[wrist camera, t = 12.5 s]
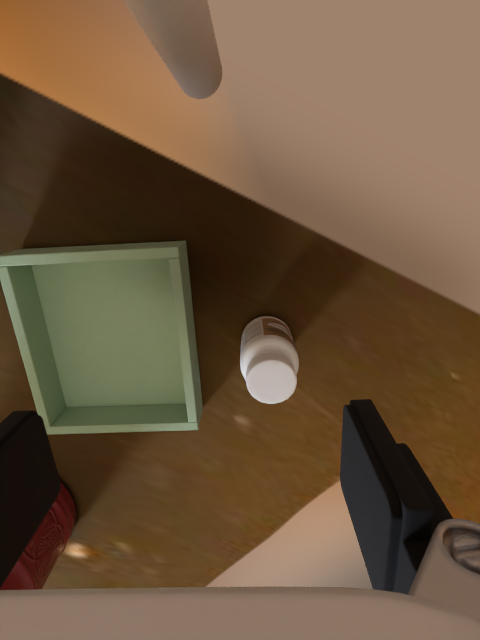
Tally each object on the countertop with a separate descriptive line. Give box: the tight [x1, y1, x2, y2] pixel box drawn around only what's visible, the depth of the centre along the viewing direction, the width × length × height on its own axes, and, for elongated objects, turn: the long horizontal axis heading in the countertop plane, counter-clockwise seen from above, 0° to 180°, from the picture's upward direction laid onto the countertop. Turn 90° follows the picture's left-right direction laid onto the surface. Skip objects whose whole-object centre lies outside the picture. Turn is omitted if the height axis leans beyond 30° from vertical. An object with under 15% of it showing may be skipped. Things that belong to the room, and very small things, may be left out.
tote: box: [0, 241, 203, 435], centre depth 30 cm, size 16×14×3 cm
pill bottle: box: [240, 316, 299, 404], centre depth 28 cm, size 4×4×8 cm
